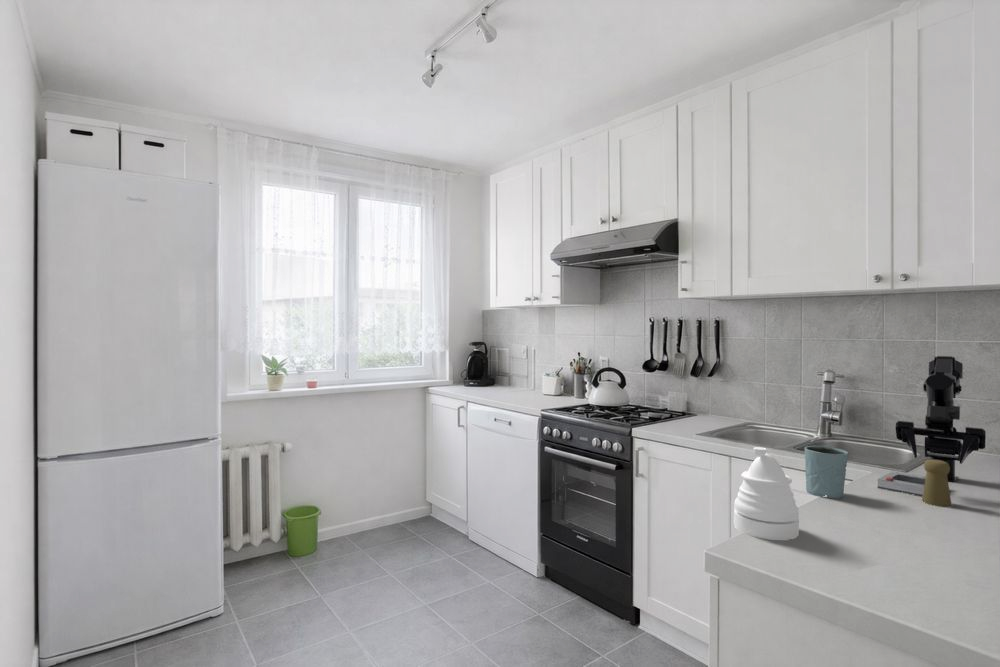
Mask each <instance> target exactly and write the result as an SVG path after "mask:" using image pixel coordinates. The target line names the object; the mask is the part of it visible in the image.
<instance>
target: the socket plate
mask: <svg viewBox="0 0 1000 667" xmlns="http://www.w3.org/2000/svg"><path fill="white" fill-rule="evenodd" d="M925 479H926V476H922V475H917V474H910V473H905V472H899V471H892V470H891V471H890V472H889V473H886V474H885V475H883V476H881V477H879V478H877V488H878V489H881V490H886V489H887V490H888V491H891V490H892V492H896V491H897V493H901V492H903V494H907V493H908V495H912V494H914V495H913V496H917V495H919V496H918V497H922V496H923V491H924V485H925ZM887 490H886V491H887Z"/></svg>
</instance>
